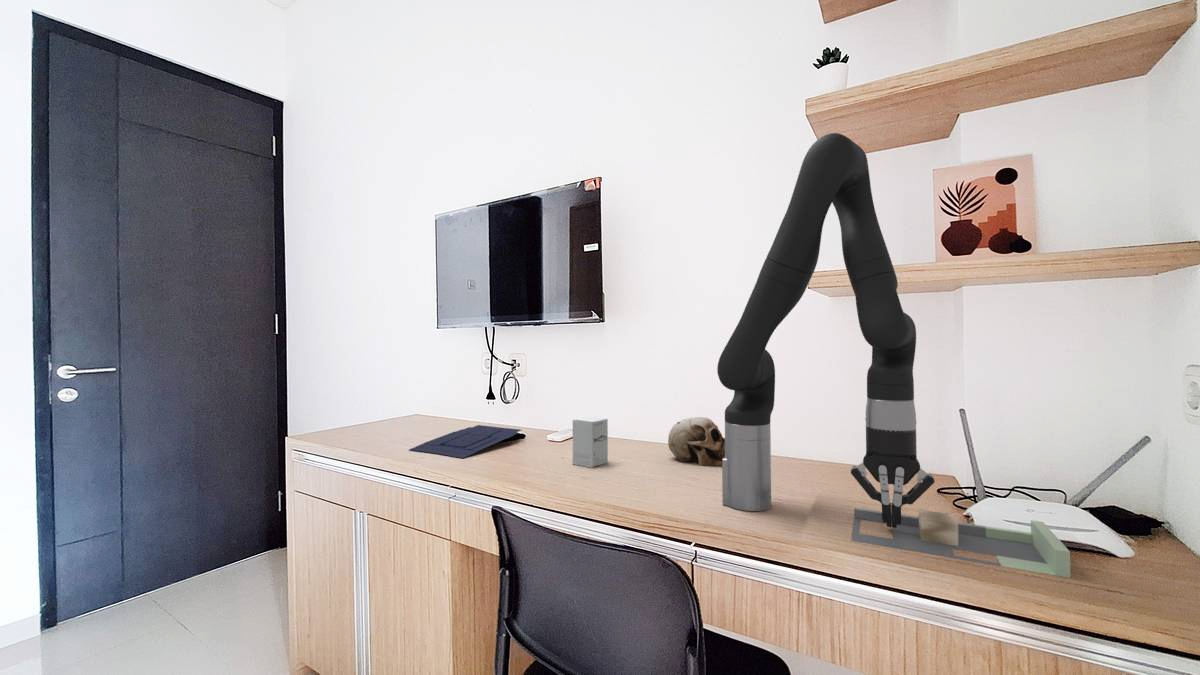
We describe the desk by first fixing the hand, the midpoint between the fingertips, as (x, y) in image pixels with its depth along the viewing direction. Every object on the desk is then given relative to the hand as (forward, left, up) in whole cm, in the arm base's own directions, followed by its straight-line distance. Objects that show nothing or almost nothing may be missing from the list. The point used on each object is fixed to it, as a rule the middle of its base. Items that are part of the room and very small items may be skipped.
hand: (891, 525), depth 86 cm
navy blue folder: (-121, +25, -3) cm, 123 cm away
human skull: (-46, +40, -3) cm, 61 cm away
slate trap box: (+8, -1, -2) cm, 8 cm away
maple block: (+7, 0, -1) cm, 7 cm away
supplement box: (-73, +22, -3) cm, 76 cm away
